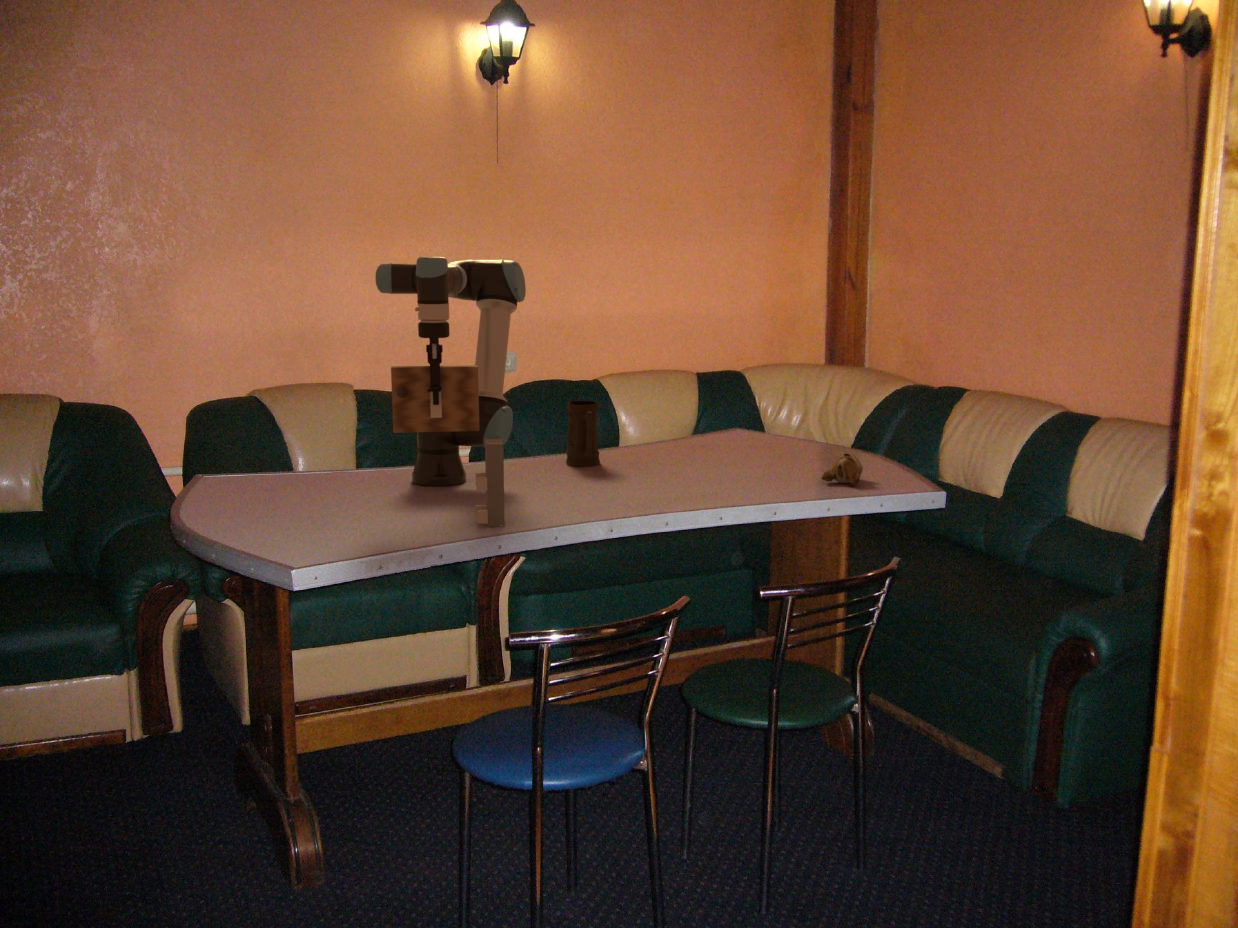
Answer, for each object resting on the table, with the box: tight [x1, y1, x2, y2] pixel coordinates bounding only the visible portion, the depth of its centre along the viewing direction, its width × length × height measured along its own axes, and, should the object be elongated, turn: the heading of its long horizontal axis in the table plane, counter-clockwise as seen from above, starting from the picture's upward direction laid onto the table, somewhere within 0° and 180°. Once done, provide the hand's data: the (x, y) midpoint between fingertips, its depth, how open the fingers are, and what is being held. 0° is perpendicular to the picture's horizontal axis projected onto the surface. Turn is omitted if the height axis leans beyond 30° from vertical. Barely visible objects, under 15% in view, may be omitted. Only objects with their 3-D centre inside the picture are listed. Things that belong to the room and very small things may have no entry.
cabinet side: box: [474, 439, 506, 527], centre depth 257 cm, size 6×8×20 cm
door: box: [390, 364, 479, 434], centre depth 264 cm, size 21×4×16 cm, turn 99°
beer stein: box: [565, 399, 601, 468], centre depth 328 cm, size 15×10×20 cm
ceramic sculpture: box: [821, 453, 864, 485], centre depth 307 cm, size 11×9×15 cm
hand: (436, 416), depth 265 cm, fingers closed on door, 3 cm apart
